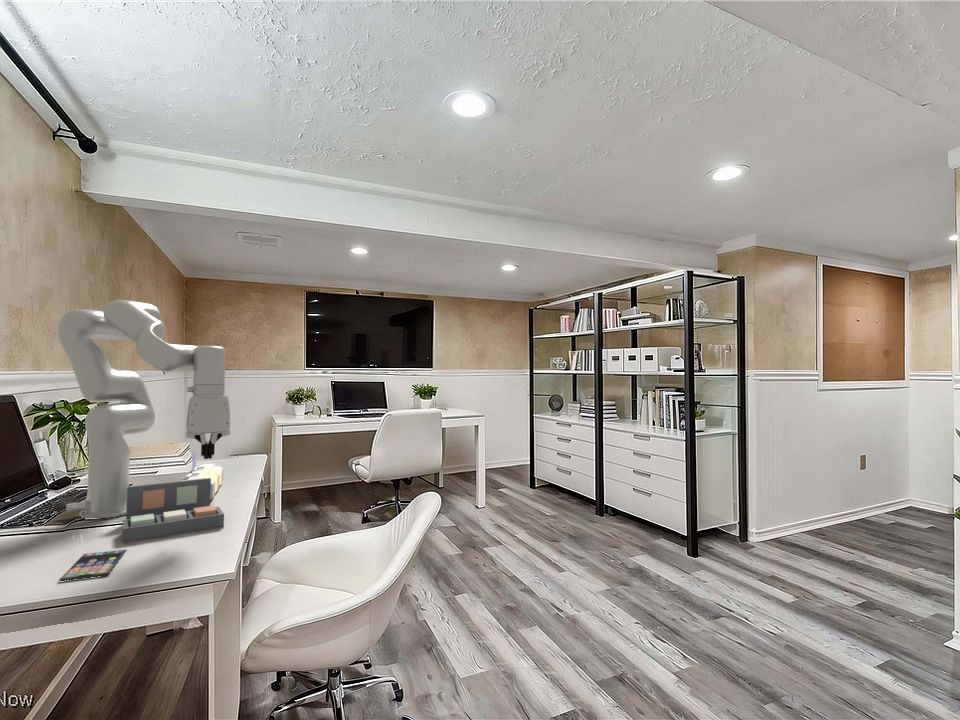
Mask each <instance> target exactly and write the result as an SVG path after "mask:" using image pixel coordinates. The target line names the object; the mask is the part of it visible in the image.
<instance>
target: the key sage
mask: <svg viewBox="0 0 960 720" xmlns="http://www.w3.org/2000/svg"><path fill="white" fill-rule="evenodd" d="M154 522H155V518H154V515H153V514H147V515H140V516H133V517H131V523H130V527H133V526H140V525H146V524H153V523H154Z"/></svg>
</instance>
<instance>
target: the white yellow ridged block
mask: <svg viewBox="0 0 960 720" xmlns="http://www.w3.org/2000/svg"><path fill="white" fill-rule="evenodd" d="M192 453H193V457H192V467H191V468H192V469H191V470H190V471H189V472H188V473H187V474H186V475H185V476H184V477H182V479H181V481H185V480H194V479H203V478H211V490H210V501H211V500H212V499H213V498H214V496H215V494H216V492H217V491H218V489H219V488H220V486H221V484H222V483H223V481H224V468H223V467H222V466H220V465H216V464H215V463H208V464H207V463H206V464H205V463H203V464H200V465H199V466H197V465H196V464H197V462H196V461H197V455H196V451H193V452H192ZM194 475H197V476H194Z"/></svg>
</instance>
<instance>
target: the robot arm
mask: <svg viewBox="0 0 960 720" xmlns="http://www.w3.org/2000/svg"><path fill="white" fill-rule="evenodd" d="M165 335H166V327H165V324H164V323H163V322H162V314H161V311H160V310H159V309H158V308H157V307H156V306H154V305H153V304H151V303H148V302H142V301H141V302H140V301H135V300H134V301H133V300H127V299H116V300H112V301H110V302H108V303H107V304H106V305H105V306H104V307H103V310H97V309H87V308H86V309H85V308H83V309H81V308H80V309H72V310H68V311H66V312H65V313H64V314H62V316H61V317H60V320H59V321H58V326H57V336H58V340H59V343H60V345H61V347H62V349H63V350H64V352H65V354H66V356H67V357H68V359H69V361H70V363H71V366H72V370H73V372H74V376H75V378H76V381H77V383H78V387H79V390H80V392H81V394H82V397H83V398H84V399H85V400H86V401H88V402H90V403H105V404H100V405H97V406H94V407H93V408H91V409H90V410H89V411H88V412H87V414H86V416H85V420H84V424H85V431H86V435H87V441H88V443H87V444H88V464H87V468H88V469H87V491H86V492H87V494H86V498H85V500H82V501H80V502H70V503H66V504H65V505H66V506H65V512H68V511H71V512H77V511H80V512H79V517H80V516H81V517H83V518H108V519H110V518H109V517H114V518H116V517H115V516H119V515H123V514H125V513H126V510H127V487H128V486H130V464H131V460H130V459H131V451H130V450H131V449H130V446H129V445H128V443H127V441H126V439H125V438H124V436H127V435H134V434H139V433H144V432H147V431H149V430H150V429H151V428H152V427H153V426H154V424H155V420H156V416H155V414H156V413H155V410H154V407H153V404H152V401H151V398H150V396H149V393H148V391H147V387H146V385H145V382H144V380H143V378H142V377H141V376H140V375H139V374H138V373H137V372H135V371H132V370H129V369H115V368H113V367H112V366H111V363H110V361H109V358H108V354H106V352H105V351H104V350H103V349H102V348H101V346H99V344H98V343H95V342H94V340H104V341H105V340H108V341H122V340H123V341H124V340H128V339H130V340H131V341H133V342H134V343H135V349H136V352H137V355H138V356H139V357H140V359H142V360H143V361H144V362H146V363H147V364H149V365H150V366H151V367H153V368H154V369H156V370H158V371H160V372H163V373H164V372H165V373H193V377H192V379H193V382H192V383H193V384H192V386H187V387H186V393H192V395H191V396H190V397H189V401H188V405H187V411H186V412H187V413H186V431H185V433H184V434H185V435H184V437H185V438H186V439H187V438H188V439H194V440H196V441H198V443H200V444H201V445H200V447H201V448H200V455H201V457H203V459H204V460H208V459H213V456H215V444H216V443H217V442H218V441H219V440H220V439H221V438H222V437H227V436H229V435H231V430H230V429H231V410H230V408H231V407H230V401H229V396H228V395H226V394H225V387H226V386H225V383H226V349H225V348H224V347H222V346H218V345H191V344H190V345H189V344H178V343H177V344H175V343H174V344H173V343H168V342H166V341H164V340H163V339H164V337H165ZM111 402H114V403H111ZM115 402H119V403H115ZM106 403H107V404H106ZM206 434H210V437H209V440H208V441H207V439H206V438H207V437H206ZM123 516H124V515H123ZM119 517H120V516H119Z"/></svg>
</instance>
